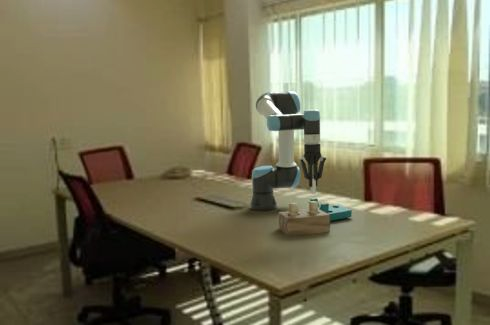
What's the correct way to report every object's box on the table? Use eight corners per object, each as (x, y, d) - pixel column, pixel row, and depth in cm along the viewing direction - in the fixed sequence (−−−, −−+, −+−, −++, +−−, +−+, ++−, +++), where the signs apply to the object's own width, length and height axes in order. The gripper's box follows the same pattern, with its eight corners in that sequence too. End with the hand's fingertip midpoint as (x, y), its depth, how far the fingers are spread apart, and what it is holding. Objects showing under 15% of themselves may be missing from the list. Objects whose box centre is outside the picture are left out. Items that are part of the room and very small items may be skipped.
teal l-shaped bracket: (321, 224, 259) (322, 204, 257) (309, 218, 269) (310, 198, 267) (351, 219, 267) (352, 199, 265) (338, 213, 277) (339, 194, 275)
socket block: (279, 228, 253) (278, 212, 252) (318, 224, 258) (317, 208, 257) (288, 236, 240) (288, 218, 238) (329, 231, 245) (329, 214, 243)
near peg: (288, 220, 248) (287, 203, 247) (296, 219, 249) (295, 202, 248) (291, 222, 244) (290, 205, 243) (299, 221, 245) (298, 204, 244)
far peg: (308, 218, 251) (307, 201, 250) (316, 217, 252) (315, 200, 251) (311, 220, 247) (310, 203, 246) (319, 219, 248) (318, 202, 247)
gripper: (301, 144, 239) (303, 196, 242) (328, 143, 242) (329, 193, 245) (296, 143, 246) (297, 193, 249) (322, 141, 250) (323, 191, 253)
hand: (313, 193), depth 247 cm, fingers closed
